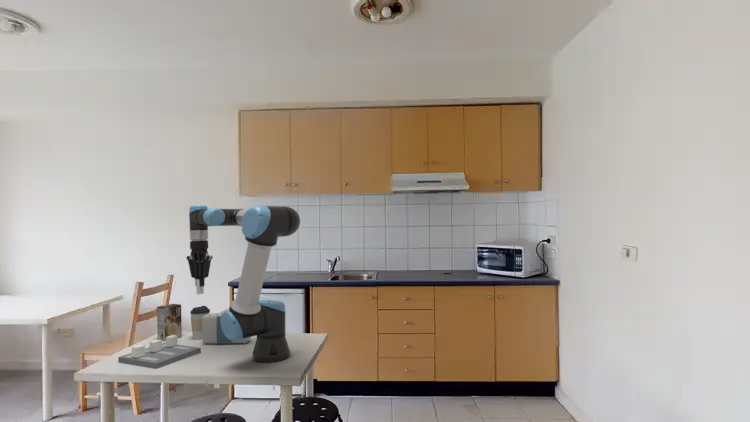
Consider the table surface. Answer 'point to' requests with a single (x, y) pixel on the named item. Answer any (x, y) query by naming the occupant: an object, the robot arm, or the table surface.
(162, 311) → the coffee box
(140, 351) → the block
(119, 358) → the breaker panel
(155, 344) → the block
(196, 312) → the coffee cup
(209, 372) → the table surface
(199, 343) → the table surface
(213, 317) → the stereo radio cassette player
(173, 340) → the breaker handle
